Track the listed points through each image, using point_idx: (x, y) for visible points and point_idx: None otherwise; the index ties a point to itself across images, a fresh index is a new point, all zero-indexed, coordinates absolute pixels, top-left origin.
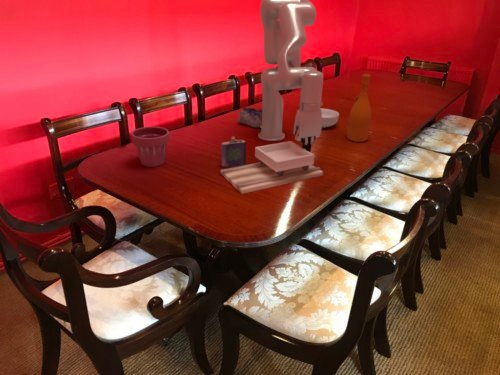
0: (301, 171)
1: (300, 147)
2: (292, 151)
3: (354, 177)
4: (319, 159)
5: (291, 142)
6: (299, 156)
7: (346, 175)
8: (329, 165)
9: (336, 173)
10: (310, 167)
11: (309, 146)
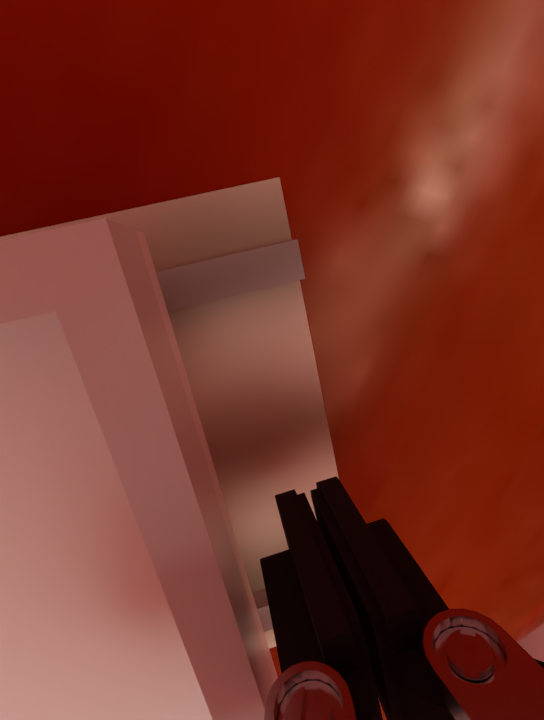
0: None
1: (217, 654)
2: (113, 463)
3: (538, 622)
4: (493, 269)
5: (95, 346)
6: (168, 647)
7: (510, 594)
8: (500, 419)
9: (466, 561)
10: None
11: (386, 706)
